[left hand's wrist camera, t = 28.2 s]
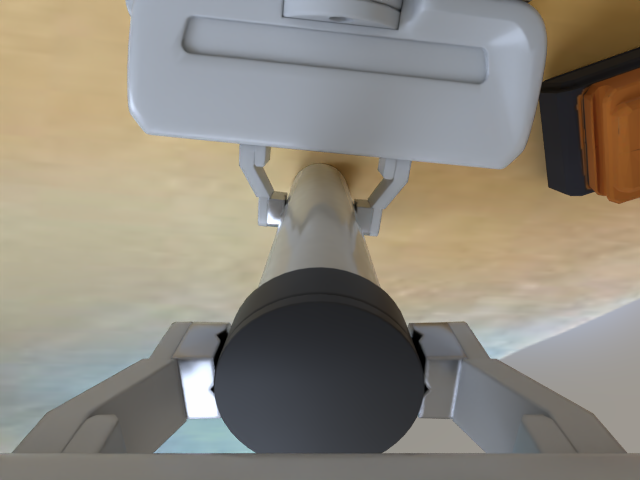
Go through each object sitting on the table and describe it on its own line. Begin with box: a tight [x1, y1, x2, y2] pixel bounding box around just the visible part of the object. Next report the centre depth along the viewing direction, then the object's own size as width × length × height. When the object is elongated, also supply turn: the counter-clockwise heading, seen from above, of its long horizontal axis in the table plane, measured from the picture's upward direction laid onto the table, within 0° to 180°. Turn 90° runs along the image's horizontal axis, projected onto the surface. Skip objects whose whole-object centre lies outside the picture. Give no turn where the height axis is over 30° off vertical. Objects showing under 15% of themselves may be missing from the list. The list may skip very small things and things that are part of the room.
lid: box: [214, 267, 425, 453], centre depth 9 cm, size 5×5×2 cm
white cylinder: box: [258, 164, 381, 288], centre depth 18 cm, size 4×4×19 cm
